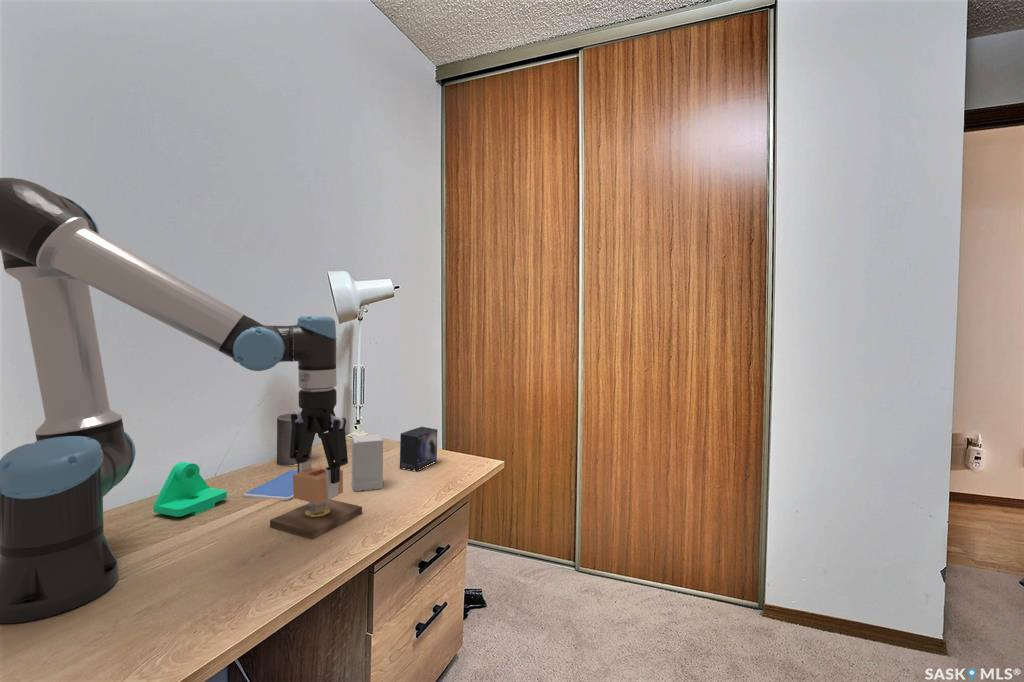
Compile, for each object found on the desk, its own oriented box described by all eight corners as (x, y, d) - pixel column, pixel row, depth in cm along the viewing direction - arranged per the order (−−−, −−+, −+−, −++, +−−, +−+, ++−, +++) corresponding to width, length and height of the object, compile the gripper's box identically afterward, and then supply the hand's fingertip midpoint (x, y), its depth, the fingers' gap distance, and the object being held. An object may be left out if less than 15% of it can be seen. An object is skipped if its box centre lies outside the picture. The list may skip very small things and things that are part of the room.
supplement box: (383, 488, 122) (383, 440, 121) (352, 492, 119) (353, 442, 118) (380, 479, 129) (380, 433, 128) (351, 482, 126) (351, 435, 125)
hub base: (312, 539, 94) (312, 497, 94) (269, 527, 99) (269, 486, 98) (362, 513, 107) (362, 475, 106) (322, 503, 112) (322, 467, 111)
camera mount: (179, 522, 101) (178, 474, 100) (153, 516, 103) (152, 470, 103) (229, 501, 112) (228, 458, 112) (204, 497, 115) (204, 455, 114)
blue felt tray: (290, 473, 134) (290, 468, 134) (331, 476, 132) (331, 471, 132) (241, 499, 115) (240, 494, 115) (288, 503, 113) (288, 497, 113)
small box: (416, 472, 135) (417, 436, 135) (398, 469, 138) (398, 433, 137) (438, 462, 145) (438, 428, 144) (420, 459, 147) (421, 426, 147)
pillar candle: (270, 461, 142) (270, 412, 141) (301, 454, 150) (301, 407, 149) (287, 468, 136) (287, 417, 135) (318, 460, 144) (319, 411, 143)
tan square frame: (317, 503, 98) (317, 479, 98) (293, 498, 101) (293, 473, 101) (342, 492, 104) (342, 469, 104) (319, 487, 107) (319, 464, 107)
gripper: (269, 387, 102) (271, 492, 103) (340, 395, 94) (340, 509, 95) (298, 383, 109) (299, 481, 110) (366, 389, 101) (366, 496, 102)
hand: (318, 494), depth 103 cm, fingers closed on tan square frame, 7 cm apart
